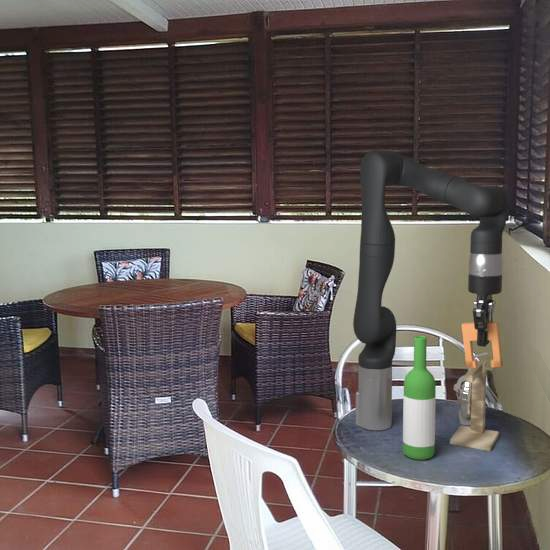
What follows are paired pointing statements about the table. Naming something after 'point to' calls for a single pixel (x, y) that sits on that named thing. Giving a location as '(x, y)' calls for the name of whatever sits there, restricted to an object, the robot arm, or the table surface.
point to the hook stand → (476, 414)
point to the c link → (471, 335)
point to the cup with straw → (465, 397)
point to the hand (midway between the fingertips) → (483, 344)
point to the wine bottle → (419, 406)
